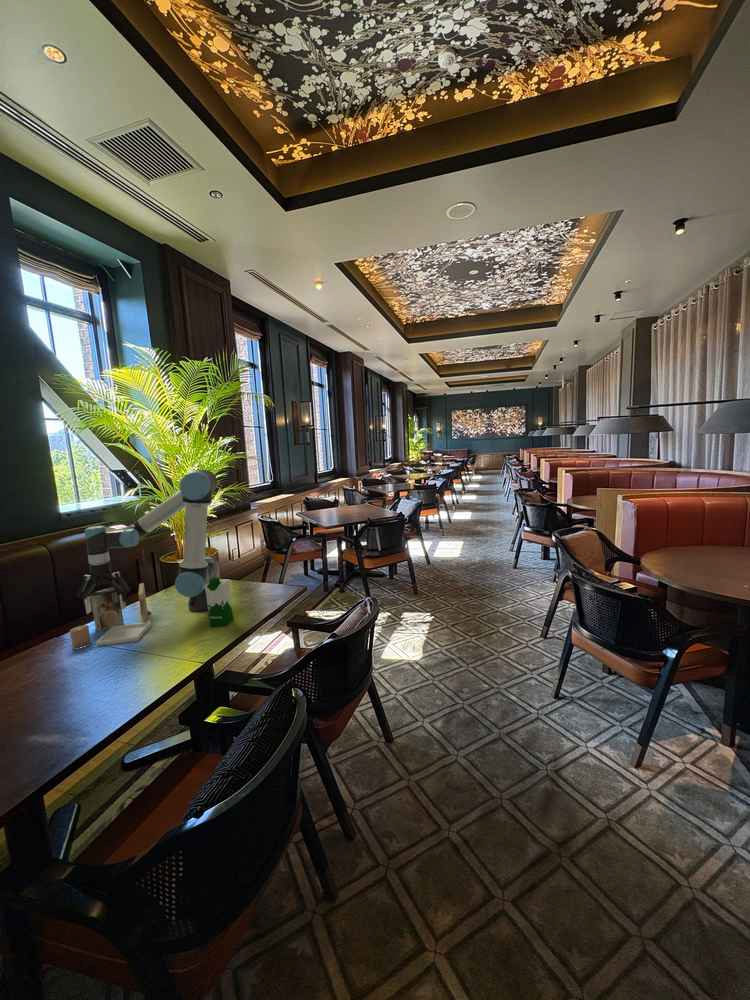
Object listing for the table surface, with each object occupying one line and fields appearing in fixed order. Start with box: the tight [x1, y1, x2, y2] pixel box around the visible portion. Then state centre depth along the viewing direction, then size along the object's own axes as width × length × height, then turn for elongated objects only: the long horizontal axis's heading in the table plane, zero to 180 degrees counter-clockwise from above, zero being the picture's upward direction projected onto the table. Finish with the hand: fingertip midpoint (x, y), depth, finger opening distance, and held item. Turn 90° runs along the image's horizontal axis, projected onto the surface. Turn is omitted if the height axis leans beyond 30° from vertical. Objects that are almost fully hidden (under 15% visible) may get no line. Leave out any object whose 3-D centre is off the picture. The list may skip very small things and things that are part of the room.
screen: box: [138, 582, 152, 623], centre depth 186 cm, size 4×18×14 cm, turn 28°
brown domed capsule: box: [69, 624, 92, 649], centre depth 163 cm, size 6×6×7 cm
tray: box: [95, 620, 152, 647], centre depth 170 cm, size 15×15×2 cm
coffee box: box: [89, 586, 125, 633], centre depth 180 cm, size 9×6×16 cm
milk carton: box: [204, 577, 234, 628], centre depth 175 cm, size 9×9×20 cm
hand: (106, 610), depth 180 cm, fingers open, 13 cm apart
